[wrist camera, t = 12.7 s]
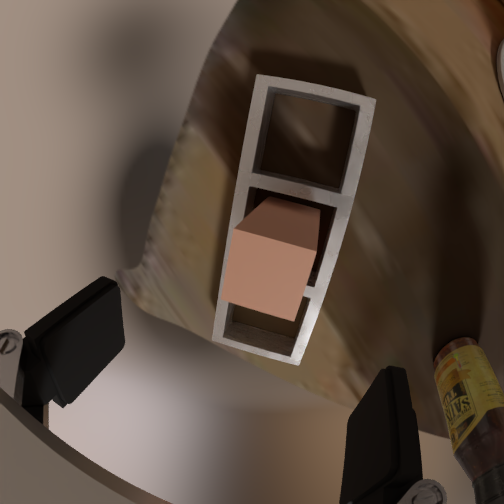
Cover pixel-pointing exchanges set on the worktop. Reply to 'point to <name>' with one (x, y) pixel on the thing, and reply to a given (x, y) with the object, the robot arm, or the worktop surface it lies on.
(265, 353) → the hole rail
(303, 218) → the square peg
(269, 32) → the worktop surface
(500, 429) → the sauce bottle
